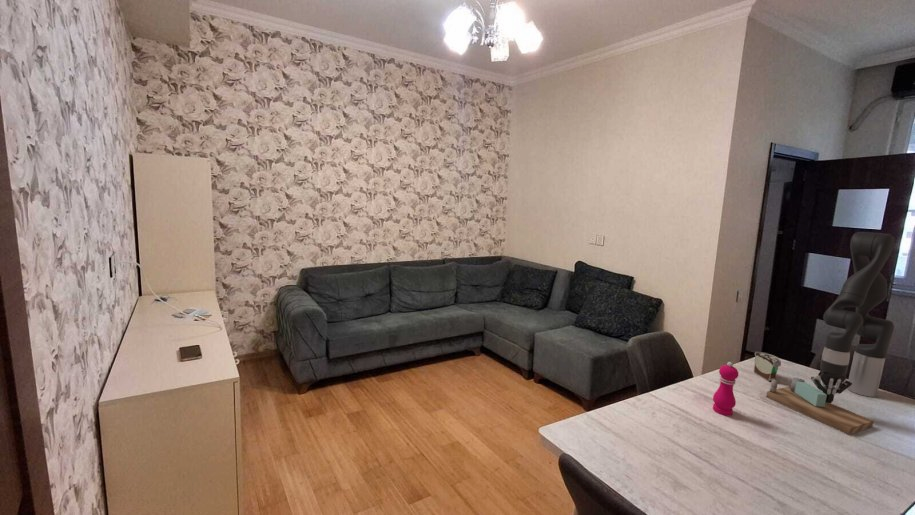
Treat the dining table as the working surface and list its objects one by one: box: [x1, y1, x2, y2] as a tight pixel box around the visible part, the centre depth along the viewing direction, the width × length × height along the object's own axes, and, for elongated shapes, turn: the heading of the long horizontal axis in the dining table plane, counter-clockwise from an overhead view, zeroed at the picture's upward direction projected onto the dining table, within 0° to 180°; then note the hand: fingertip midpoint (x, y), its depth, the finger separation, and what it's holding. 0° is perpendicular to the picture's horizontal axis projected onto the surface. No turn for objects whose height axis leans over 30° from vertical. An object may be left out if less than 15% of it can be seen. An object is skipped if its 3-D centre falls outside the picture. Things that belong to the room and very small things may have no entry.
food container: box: [753, 351, 782, 383], centre depth 182 cm, size 12×6×10 cm, turn 179°
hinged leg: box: [790, 377, 827, 407], centre depth 159 cm, size 14×4×5 cm, turn 175°
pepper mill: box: [712, 361, 739, 417], centre depth 150 cm, size 7×7×20 cm
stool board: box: [765, 379, 875, 436], centre depth 154 cm, size 15×27×8 cm, turn 21°
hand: (827, 401), depth 155 cm, fingers closed
